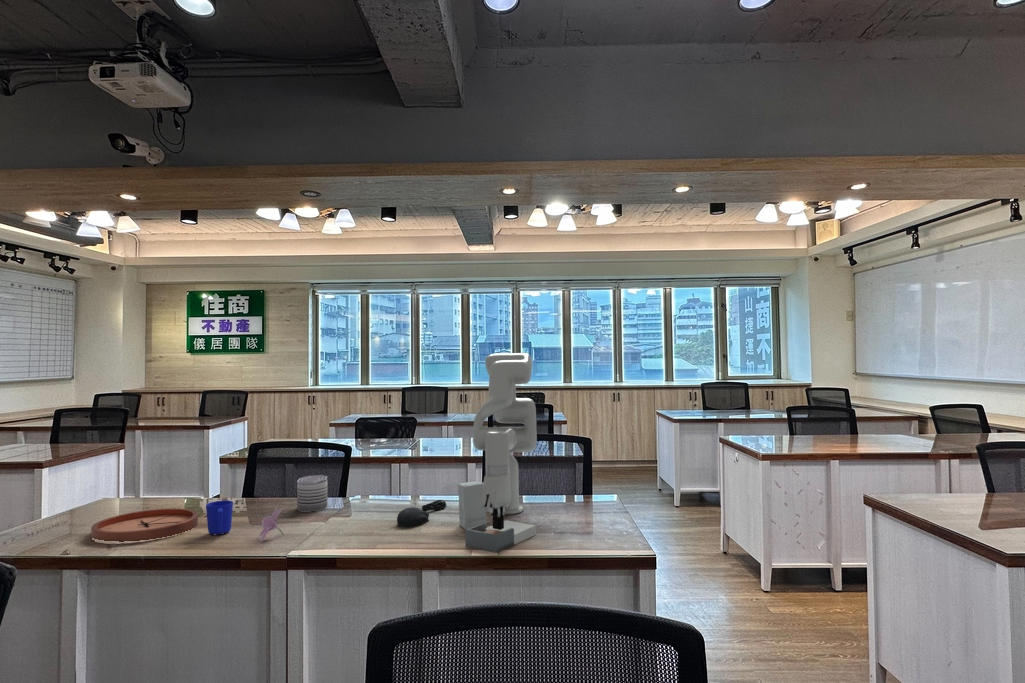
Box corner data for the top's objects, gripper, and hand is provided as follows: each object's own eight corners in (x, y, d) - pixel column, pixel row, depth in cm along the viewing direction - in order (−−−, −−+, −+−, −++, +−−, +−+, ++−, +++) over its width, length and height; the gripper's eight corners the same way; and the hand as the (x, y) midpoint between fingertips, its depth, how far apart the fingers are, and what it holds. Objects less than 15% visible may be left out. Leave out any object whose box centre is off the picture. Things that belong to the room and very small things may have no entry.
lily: (265, 535, 201) (251, 513, 198) (298, 520, 203) (285, 498, 199) (259, 556, 190) (245, 534, 187) (294, 540, 192) (280, 517, 188)
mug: (206, 541, 192) (206, 510, 192) (205, 531, 203) (206, 502, 203) (234, 537, 196) (234, 506, 196) (232, 528, 206) (232, 499, 207)
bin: (465, 546, 183) (465, 529, 183) (483, 538, 190) (483, 522, 191) (496, 552, 176) (496, 535, 176) (514, 544, 184) (513, 528, 184)
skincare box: (480, 522, 210) (479, 479, 210) (487, 526, 204) (486, 483, 205) (458, 525, 206) (457, 482, 206) (464, 529, 201) (463, 485, 201)
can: (333, 507, 235) (333, 476, 235) (310, 513, 225) (310, 481, 225) (314, 503, 241) (314, 473, 241) (290, 510, 231) (290, 479, 232)
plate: (483, 538, 190) (483, 529, 191) (505, 529, 201) (505, 520, 201) (514, 544, 184) (514, 534, 184) (535, 534, 194) (535, 525, 194)
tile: (478, 541, 184) (478, 533, 184) (490, 536, 189) (490, 528, 189) (494, 545, 180) (494, 536, 181) (505, 539, 185) (505, 531, 185)
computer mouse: (391, 528, 205) (391, 512, 205) (429, 505, 236) (429, 491, 236) (416, 529, 202) (416, 513, 203) (451, 507, 233) (451, 493, 234)
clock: (67, 529, 195) (149, 506, 225) (67, 541, 195) (149, 517, 225) (143, 535, 186) (218, 510, 217) (143, 548, 186) (218, 522, 216)
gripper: (501, 465, 196) (502, 521, 195) (473, 472, 184) (474, 532, 183) (520, 467, 192) (521, 524, 191) (492, 475, 179) (493, 536, 179)
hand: (498, 528), depth 187 cm, fingers closed
